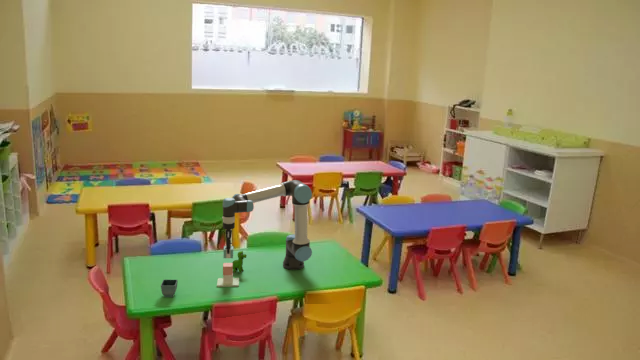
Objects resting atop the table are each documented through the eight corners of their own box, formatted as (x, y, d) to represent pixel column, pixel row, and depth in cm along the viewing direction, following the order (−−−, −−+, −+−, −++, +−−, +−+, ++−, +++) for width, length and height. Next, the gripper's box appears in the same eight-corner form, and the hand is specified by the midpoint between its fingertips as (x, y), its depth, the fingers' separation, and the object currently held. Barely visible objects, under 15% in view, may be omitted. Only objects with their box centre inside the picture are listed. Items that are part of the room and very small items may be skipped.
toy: (244, 274, 367) (244, 253, 363) (225, 271, 370) (225, 251, 366) (247, 270, 373) (247, 250, 369) (228, 268, 375) (228, 248, 372)
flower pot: (175, 299, 328) (175, 285, 326) (160, 299, 327) (160, 285, 325) (178, 292, 336) (177, 279, 334) (163, 292, 336) (163, 279, 333)
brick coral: (232, 271, 354) (232, 262, 352) (232, 275, 348) (232, 266, 347) (223, 271, 353) (223, 262, 352) (222, 275, 347) (222, 266, 346)
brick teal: (233, 254, 351) (233, 246, 350) (232, 258, 345) (233, 249, 344) (223, 254, 350) (224, 246, 349) (223, 258, 344) (223, 249, 343)
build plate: (239, 279, 359) (239, 269, 357) (238, 286, 348) (238, 276, 346) (217, 279, 357) (217, 269, 355) (216, 286, 346) (216, 276, 345)
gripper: (223, 217, 351) (223, 250, 356) (222, 227, 332) (221, 261, 338) (235, 217, 352) (234, 250, 357) (234, 227, 333) (233, 261, 339)
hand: (228, 255), depth 348 cm, fingers closed on brick teal, 6 cm apart
